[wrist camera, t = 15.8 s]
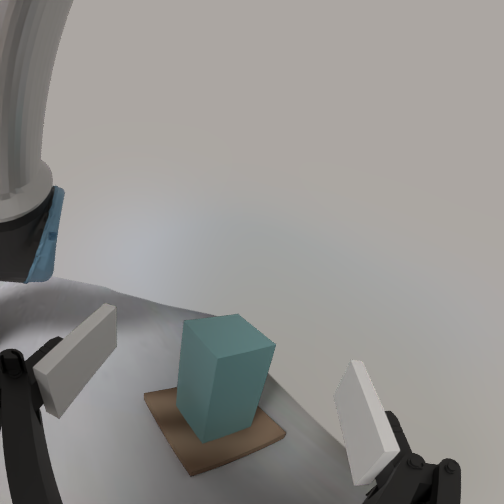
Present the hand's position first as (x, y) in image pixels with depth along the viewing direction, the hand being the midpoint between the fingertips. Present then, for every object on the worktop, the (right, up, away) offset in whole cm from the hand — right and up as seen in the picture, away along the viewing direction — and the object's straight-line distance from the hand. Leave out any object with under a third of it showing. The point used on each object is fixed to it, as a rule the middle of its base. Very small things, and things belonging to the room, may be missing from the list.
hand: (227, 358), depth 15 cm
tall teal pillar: (-3, -13, +14) cm, 19 cm away
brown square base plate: (-3, -14, +14) cm, 20 cm away
